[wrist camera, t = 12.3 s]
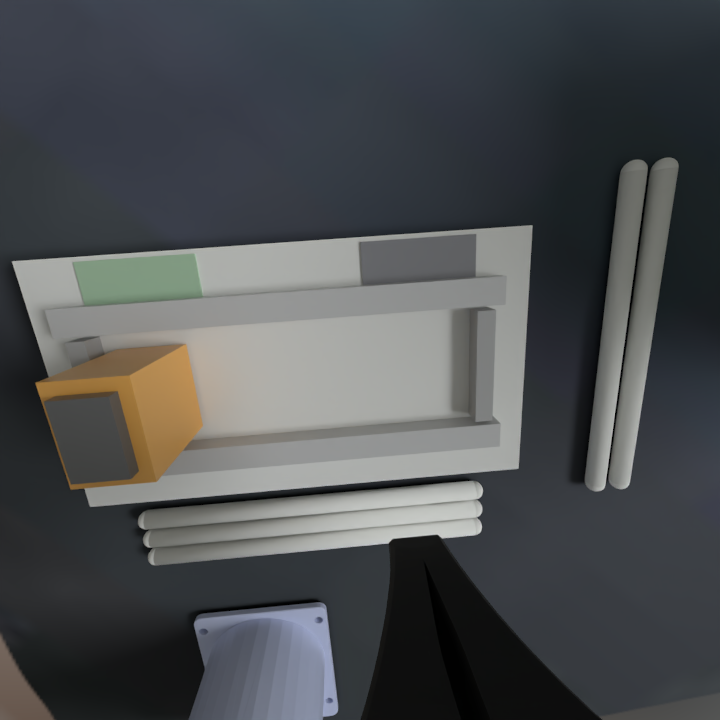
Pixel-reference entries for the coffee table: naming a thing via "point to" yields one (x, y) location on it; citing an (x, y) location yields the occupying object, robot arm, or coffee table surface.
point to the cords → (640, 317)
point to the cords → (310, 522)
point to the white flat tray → (311, 353)
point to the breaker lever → (122, 415)
